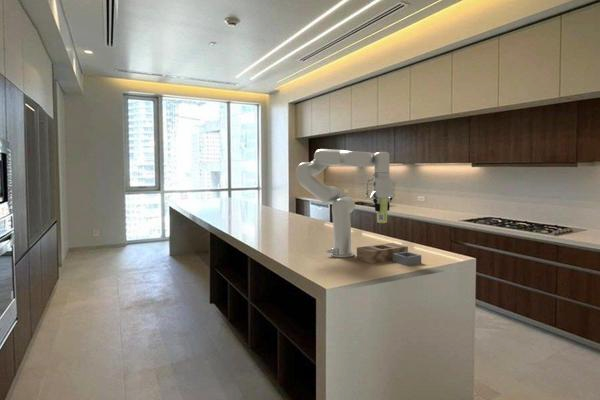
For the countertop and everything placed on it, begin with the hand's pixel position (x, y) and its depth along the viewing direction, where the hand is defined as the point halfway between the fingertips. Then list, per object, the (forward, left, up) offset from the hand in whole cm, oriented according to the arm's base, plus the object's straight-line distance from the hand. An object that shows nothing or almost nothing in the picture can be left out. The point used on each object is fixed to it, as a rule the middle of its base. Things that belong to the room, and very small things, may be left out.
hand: (382, 210), depth 196 cm
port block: (0, 0, -25) cm, 25 cm away
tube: (0, 0, -7) cm, 7 cm away
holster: (+5, -13, -25) cm, 29 cm away
